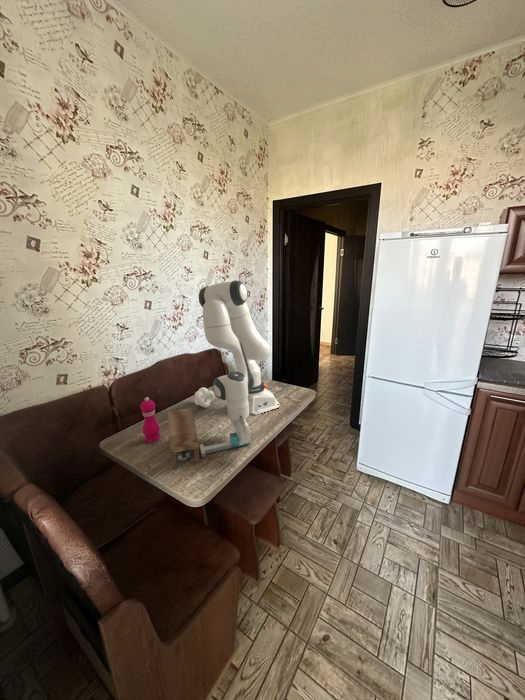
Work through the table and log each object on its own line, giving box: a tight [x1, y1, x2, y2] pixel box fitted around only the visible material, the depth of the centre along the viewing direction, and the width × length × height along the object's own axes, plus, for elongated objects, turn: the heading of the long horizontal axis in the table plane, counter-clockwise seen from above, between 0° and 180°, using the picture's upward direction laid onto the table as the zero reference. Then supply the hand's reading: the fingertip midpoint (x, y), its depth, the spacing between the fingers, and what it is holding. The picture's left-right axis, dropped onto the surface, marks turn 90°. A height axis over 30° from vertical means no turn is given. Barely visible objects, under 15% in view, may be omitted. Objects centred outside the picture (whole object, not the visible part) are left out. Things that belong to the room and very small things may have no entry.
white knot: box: [194, 387, 216, 409], centre depth 155 cm, size 11×12×9 cm
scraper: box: [199, 432, 251, 458], centre depth 116 cm, size 20×6×5 cm, turn 109°
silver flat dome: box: [177, 451, 190, 462], centre depth 111 cm, size 4×4×1 cm
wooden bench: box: [167, 407, 201, 470], centre depth 113 cm, size 10×20×14 cm, turn 19°
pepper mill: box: [140, 396, 161, 443], centre depth 122 cm, size 7×7×20 cm
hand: (240, 440), depth 118 cm, fingers closed on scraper, 3 cm apart
